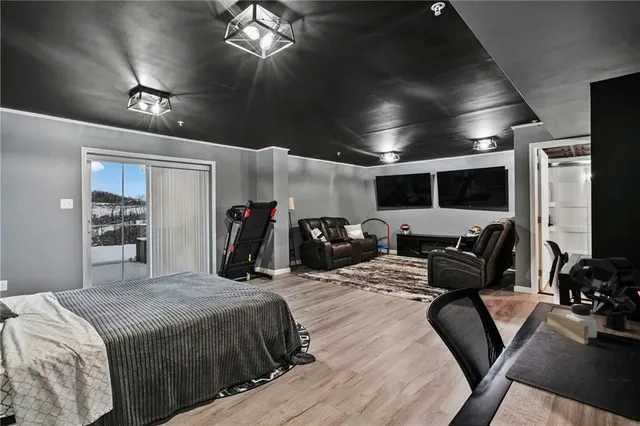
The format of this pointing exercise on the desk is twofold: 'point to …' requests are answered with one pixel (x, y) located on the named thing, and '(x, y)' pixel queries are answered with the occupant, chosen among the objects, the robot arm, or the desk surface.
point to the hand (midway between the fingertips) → (594, 313)
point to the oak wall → (568, 327)
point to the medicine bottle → (584, 318)
